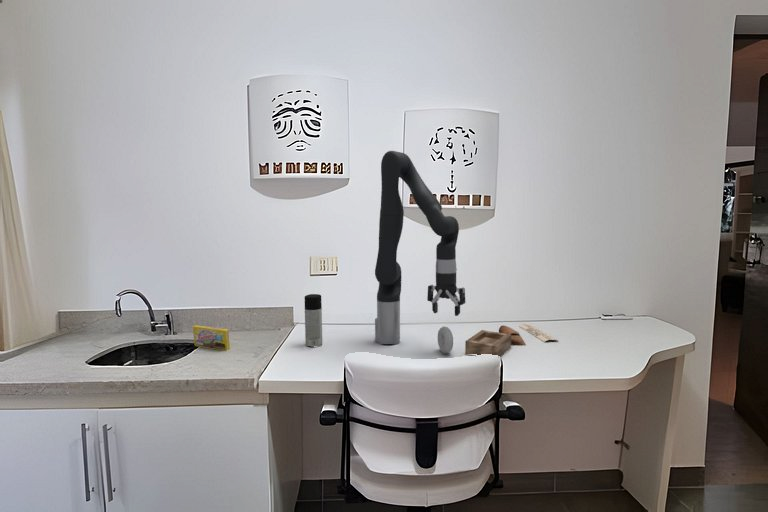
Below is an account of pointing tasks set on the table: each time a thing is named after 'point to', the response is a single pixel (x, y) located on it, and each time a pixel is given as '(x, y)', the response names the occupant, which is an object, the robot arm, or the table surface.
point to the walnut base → (488, 343)
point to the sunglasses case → (512, 335)
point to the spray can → (313, 320)
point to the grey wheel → (445, 339)
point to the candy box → (211, 337)
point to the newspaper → (536, 332)
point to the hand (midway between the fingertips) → (446, 314)
